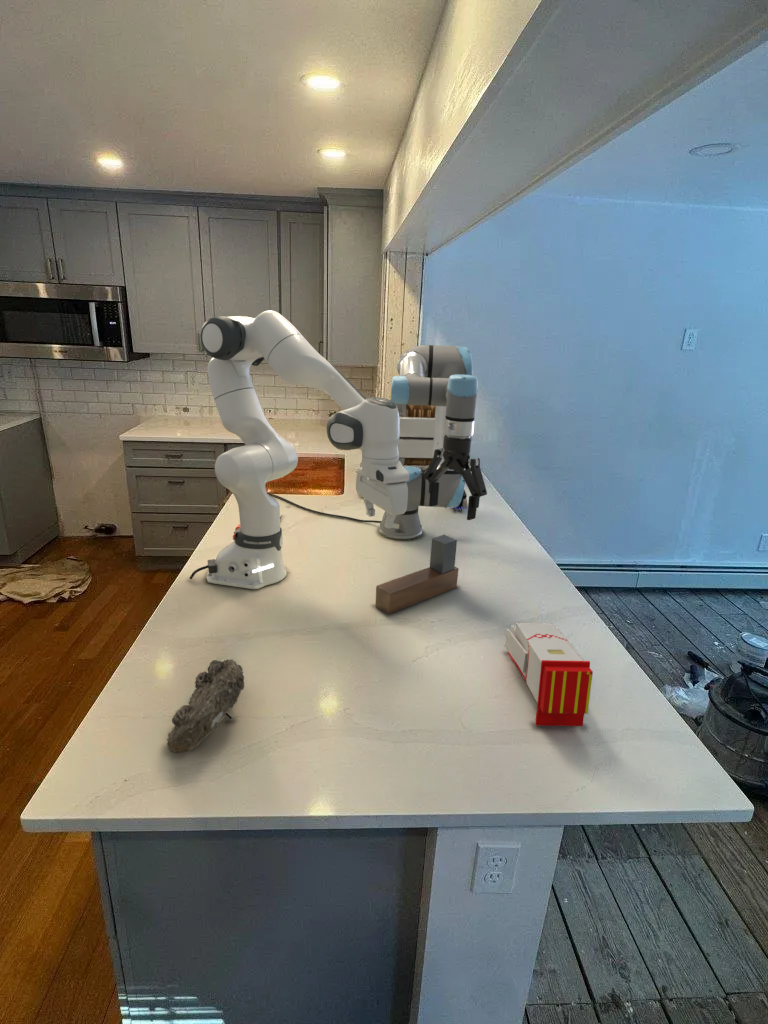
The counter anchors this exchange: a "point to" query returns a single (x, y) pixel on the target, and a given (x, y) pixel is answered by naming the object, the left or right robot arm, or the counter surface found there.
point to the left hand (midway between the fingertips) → (379, 521)
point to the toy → (551, 672)
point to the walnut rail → (414, 588)
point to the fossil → (206, 705)
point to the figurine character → (462, 502)
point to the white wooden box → (416, 434)
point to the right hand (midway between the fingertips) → (451, 512)
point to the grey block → (443, 553)
